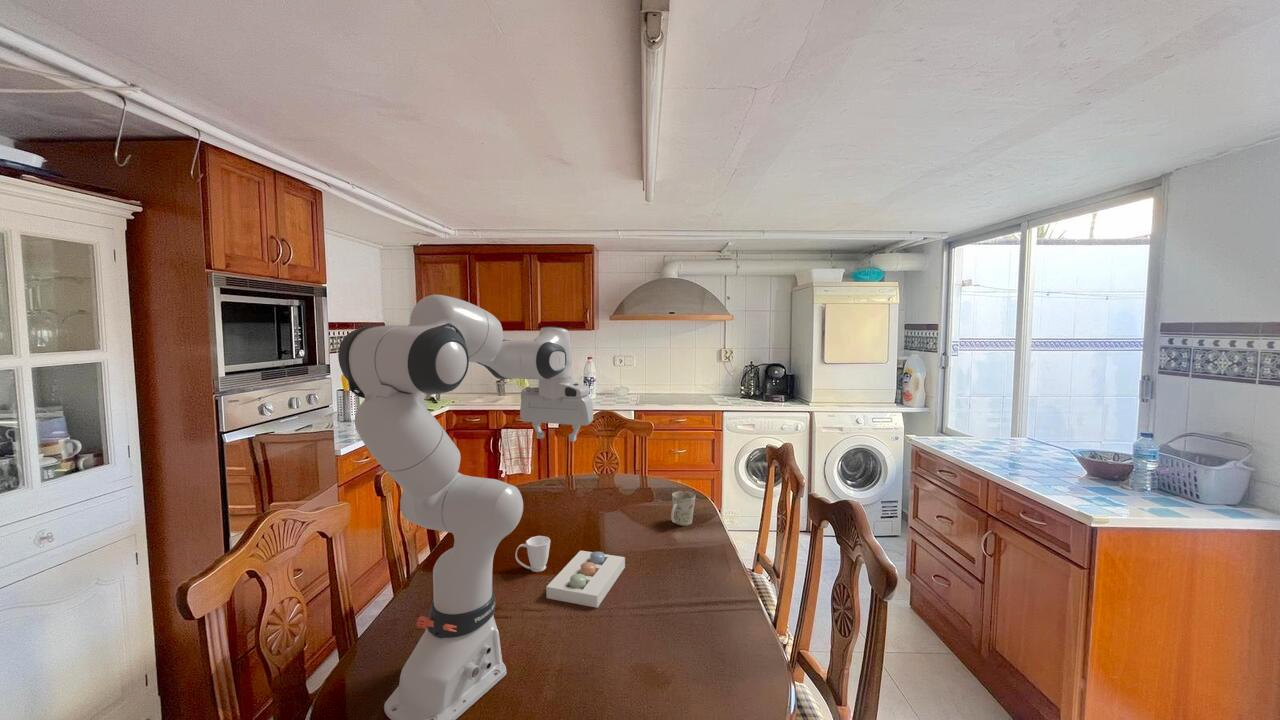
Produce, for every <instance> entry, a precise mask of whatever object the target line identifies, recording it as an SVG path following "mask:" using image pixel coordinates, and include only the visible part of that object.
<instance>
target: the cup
mask: <svg viewBox="0 0 1280 720" xmlns="http://www.w3.org/2000/svg"><path fill="white" fill-rule="evenodd" d="M521 547H523V548H526V551H527V556H528V557H527V558H528V560H529V563H530V564H529V565H530V566H529V565H527V564H525V563H523V562H522V561H520V559H519V558H518V550H519V549H520V548H521ZM550 547H551V539H550V538H549V536H543V535H536V536H531V537H530V538H528V539H526V541H525V543H522V544H519V545H518V546H517V548H516V551H515V555H514V557H515V560H516V562H517V563H518V564H519V565H520V566H522V567H524V568H525V569H528V570H531V571H532V572H534V573H535V572H536V573H540V572H543V571H544V570H546V569H547V563H548V559H549V554H550Z"/></svg>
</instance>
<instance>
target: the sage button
mask: <svg viewBox="0 0 1280 720" xmlns="http://www.w3.org/2000/svg"><path fill="white" fill-rule="evenodd" d="M585 586H586V576H585V575H583V574H574V575H572V576H571V577H570V588H576V589H581V590H583V589H584V587H585Z"/></svg>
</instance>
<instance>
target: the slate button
mask: <svg viewBox="0 0 1280 720" xmlns="http://www.w3.org/2000/svg"><path fill="white" fill-rule="evenodd" d="M592 552H593V553H591V554H590V562H592V563H594V564H598V565H602V564H603V563H604V554H605V553H604V552H603V551H592Z"/></svg>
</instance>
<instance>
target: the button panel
mask: <svg viewBox="0 0 1280 720" xmlns="http://www.w3.org/2000/svg"><path fill="white" fill-rule="evenodd" d="M593 552H594V551H589V550H588V551H585V550H579V551H578V552H577V554H576V555H575V556H573V558H571V560H570V561H569V562H567V564H566V565H565V566H564V567H563V568H562V570H561V571H559V573H558V574H556V576H555V577H554V578H553V579H552V580H551V581H550V582H549V583H548V584H547V585H546V589H545V590H546V597H545V598H546V599H547V600H548V599H550V600H555V601H559V602H564V603H571V604H576V605H581V606H586V607H592V608H599V606H600V605H601V603H602V601H603V600H604V599H605V598H606V596H607V594H608V593H609V591H611V588H612V587H613V586H614V584H615V583H616V581H617V580H618V578H619V576H620V575H621V574H622V572H623V571H624V569H625V568H626V557H625V556H621V555H620V556H619V555H611V554H607V553H606V554H605V553H604V563H603V564H602V565H598V564H595V575H594V576H593V577H591V576H586V586H585V587H584V589H583V590H581V589H576V588H570V577H571V576H572V575H574V574H581V564H583V563H585V562H590V554H591V553H593Z"/></svg>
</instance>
